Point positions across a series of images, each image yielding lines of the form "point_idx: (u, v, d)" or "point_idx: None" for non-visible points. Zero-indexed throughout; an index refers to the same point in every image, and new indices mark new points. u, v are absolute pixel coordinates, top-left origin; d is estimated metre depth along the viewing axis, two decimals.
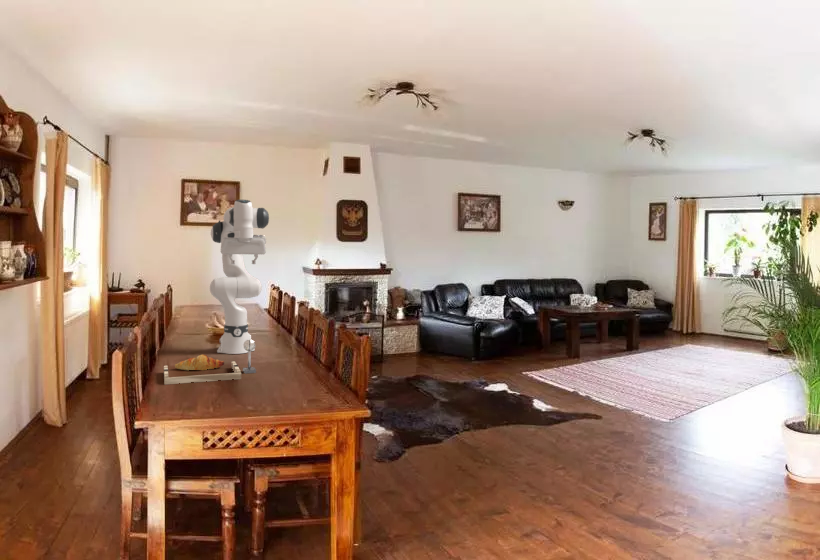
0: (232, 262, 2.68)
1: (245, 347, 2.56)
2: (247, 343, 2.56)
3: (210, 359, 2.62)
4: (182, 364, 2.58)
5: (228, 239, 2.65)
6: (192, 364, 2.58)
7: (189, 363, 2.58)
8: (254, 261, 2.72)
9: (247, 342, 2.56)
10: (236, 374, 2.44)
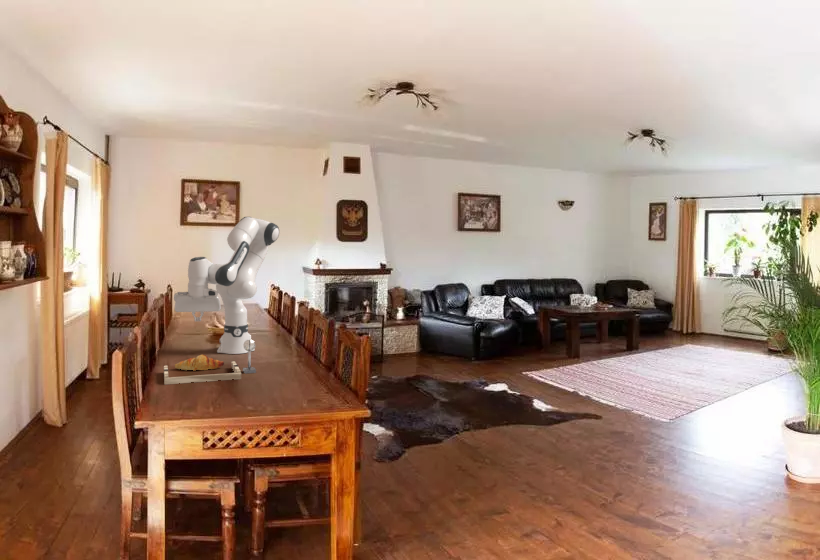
0: None
1: (245, 347, 2.56)
2: (247, 343, 2.56)
3: (210, 359, 2.61)
4: (182, 364, 2.58)
5: None
6: (192, 364, 2.58)
7: (189, 363, 2.58)
8: None
9: (247, 342, 2.56)
10: (236, 374, 2.44)
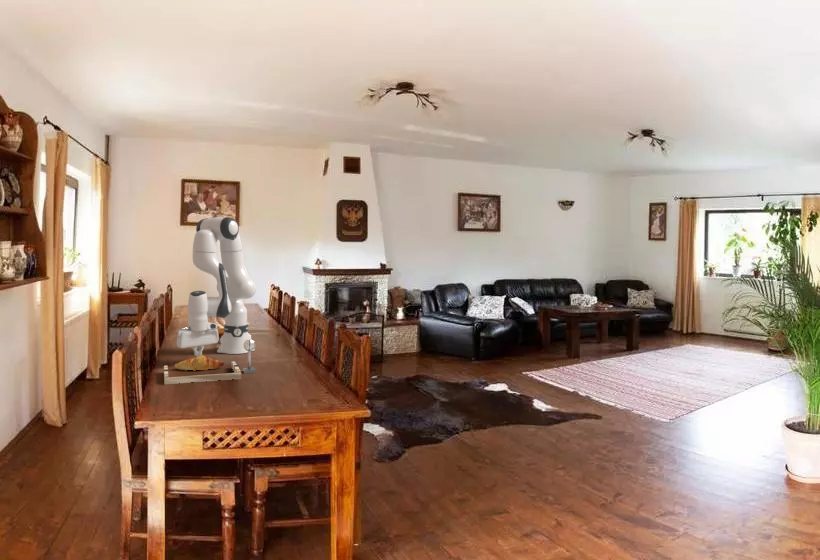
0: None
1: (245, 347, 2.56)
2: (247, 343, 2.56)
3: (209, 359, 2.61)
4: (181, 364, 2.58)
5: None
6: (191, 364, 2.57)
7: (188, 363, 2.57)
8: None
9: (247, 342, 2.56)
10: (236, 374, 2.44)
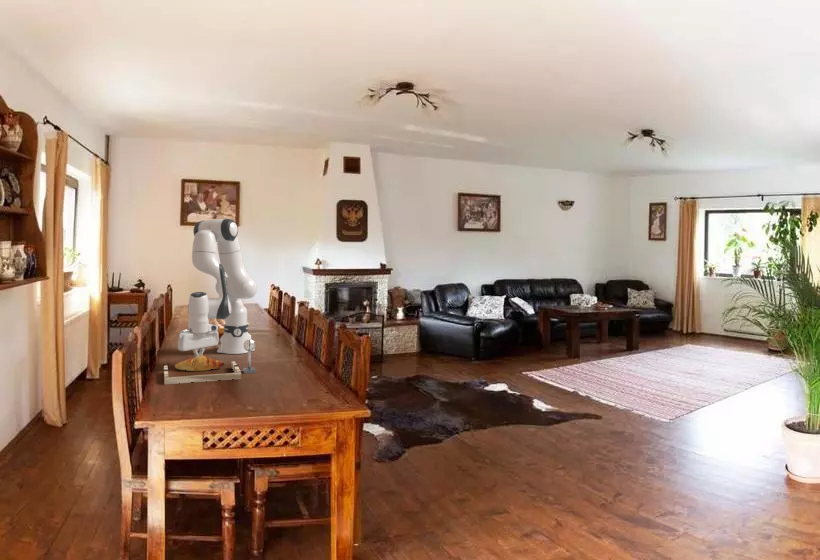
0: None
1: (245, 347, 2.56)
2: (247, 343, 2.56)
3: (210, 360, 2.60)
4: (182, 364, 2.57)
5: None
6: (191, 364, 2.57)
7: (189, 363, 2.57)
8: None
9: (247, 342, 2.56)
10: (236, 374, 2.44)
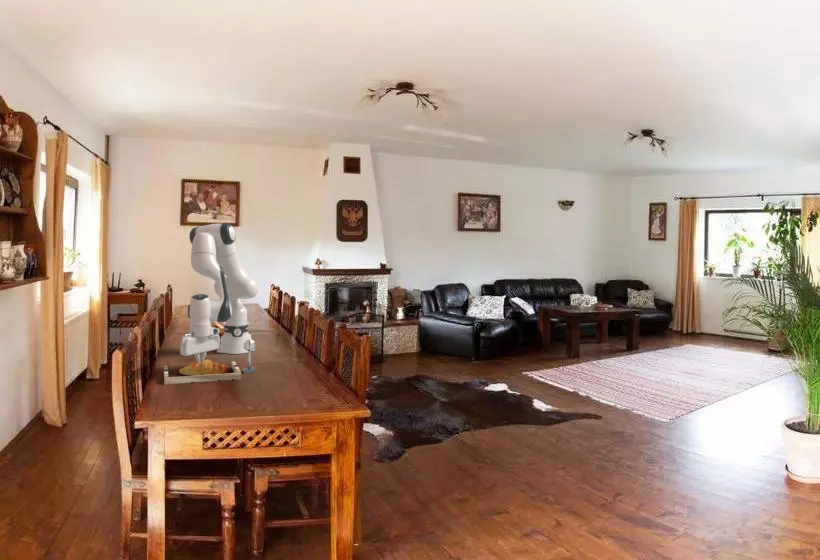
0: None
1: (245, 347, 2.56)
2: (247, 343, 2.56)
3: (216, 364, 2.52)
4: (187, 369, 2.49)
5: None
6: (197, 369, 2.48)
7: (194, 368, 2.48)
8: None
9: (247, 342, 2.56)
10: (236, 374, 2.44)
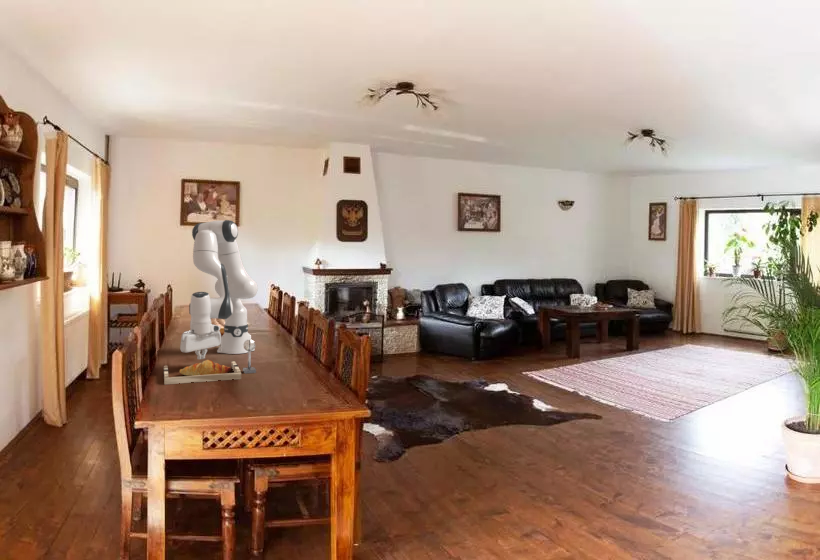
0: None
1: (245, 347, 2.56)
2: (247, 343, 2.56)
3: (216, 365, 2.51)
4: (187, 370, 2.48)
5: None
6: (197, 370, 2.47)
7: (194, 369, 2.47)
8: None
9: (247, 342, 2.56)
10: (236, 374, 2.44)
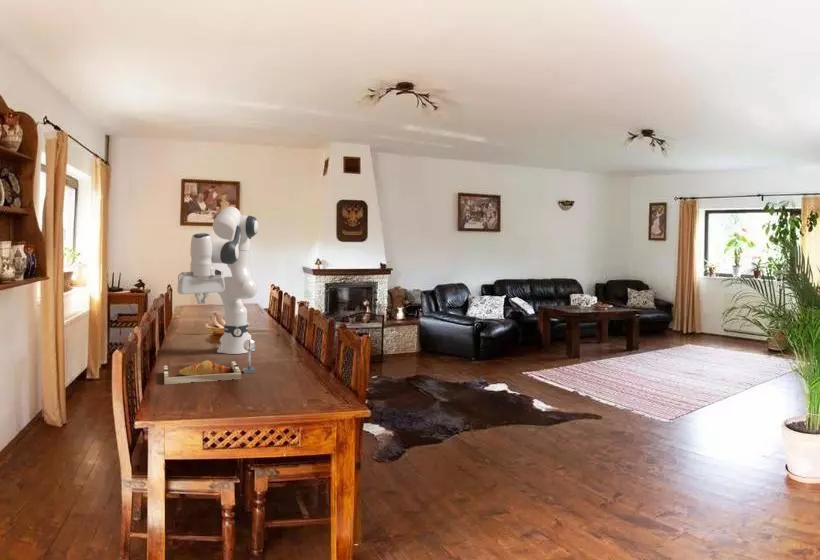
0: None
1: (245, 347, 2.56)
2: (247, 343, 2.56)
3: (216, 365, 2.50)
4: (186, 370, 2.48)
5: None
6: (197, 370, 2.47)
7: (194, 369, 2.47)
8: None
9: (247, 342, 2.56)
10: (236, 374, 2.44)
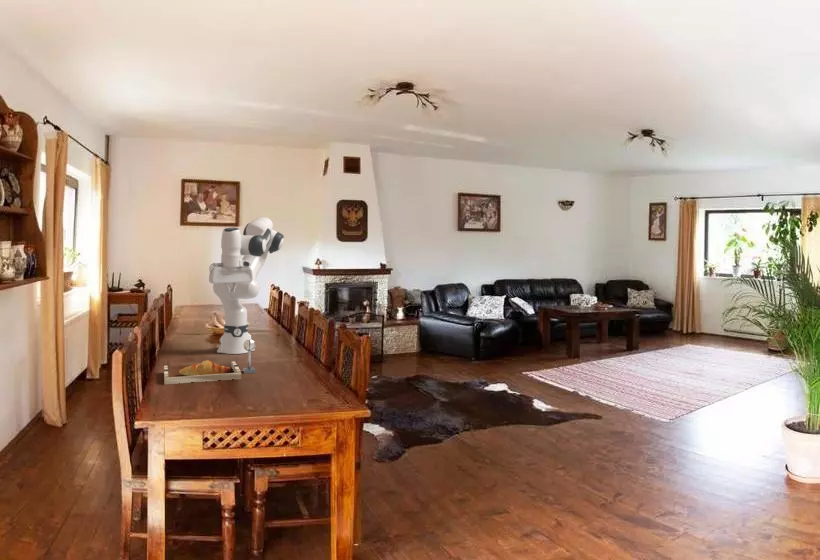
0: None
1: (245, 347, 2.56)
2: (247, 343, 2.56)
3: (215, 365, 2.50)
4: (186, 370, 2.47)
5: None
6: (196, 370, 2.47)
7: (193, 369, 2.47)
8: None
9: (247, 342, 2.56)
10: (236, 374, 2.44)
